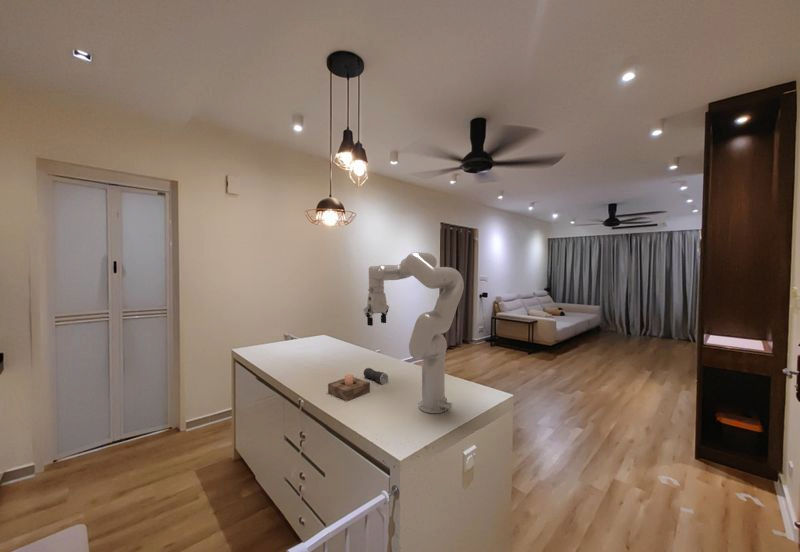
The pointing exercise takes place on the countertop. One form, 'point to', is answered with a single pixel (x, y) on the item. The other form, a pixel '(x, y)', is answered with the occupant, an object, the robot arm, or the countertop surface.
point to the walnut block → (348, 389)
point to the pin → (348, 380)
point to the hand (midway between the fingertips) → (377, 324)
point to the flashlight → (376, 375)
